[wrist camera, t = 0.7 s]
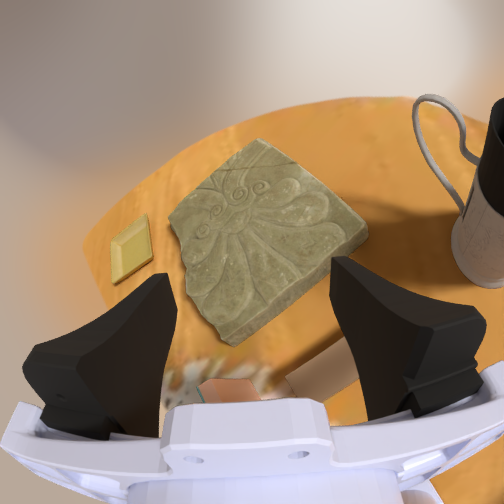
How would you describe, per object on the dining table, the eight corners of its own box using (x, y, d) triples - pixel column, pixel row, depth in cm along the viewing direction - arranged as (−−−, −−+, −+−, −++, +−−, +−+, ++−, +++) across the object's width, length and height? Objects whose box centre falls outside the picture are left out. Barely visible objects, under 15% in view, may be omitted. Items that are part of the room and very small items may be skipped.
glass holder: (501, 306, 18) (587, 234, 6) (392, 224, 26) (380, 105, 14) (532, 236, 18) (591, 138, 6) (431, 167, 26) (430, 49, 14)
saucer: (118, 245, 45) (109, 240, 43) (154, 217, 43) (146, 211, 42) (121, 289, 40) (111, 284, 39) (161, 262, 39) (151, 256, 37)
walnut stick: (424, 328, 21) (429, 321, 19) (315, 406, 23) (305, 411, 20) (402, 299, 23) (404, 288, 21) (296, 375, 25) (284, 376, 22)
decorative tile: (267, 147, 39) (256, 130, 36) (372, 237, 27) (369, 219, 24) (168, 234, 40) (152, 222, 38) (232, 353, 29) (213, 350, 26)
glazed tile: (288, 447, 22) (257, 466, 16) (274, 453, 22) (240, 473, 16) (249, 379, 26) (210, 378, 21) (237, 386, 27) (195, 387, 21)
